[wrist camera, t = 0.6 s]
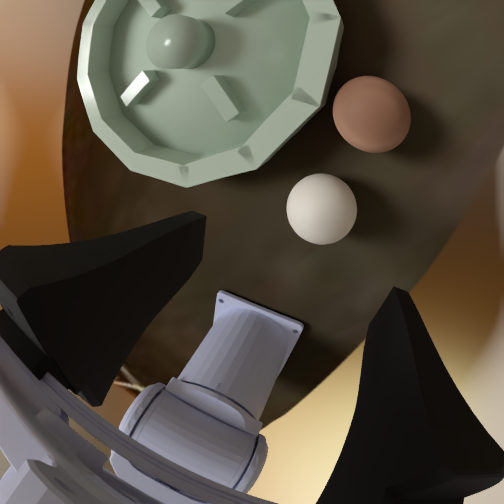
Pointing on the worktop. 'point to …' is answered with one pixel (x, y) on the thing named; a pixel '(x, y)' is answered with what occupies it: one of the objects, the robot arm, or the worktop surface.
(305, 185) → the ivory bead
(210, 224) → the worktop surface
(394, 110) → the terracotta bead
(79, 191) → the worktop surface
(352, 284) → the worktop surface
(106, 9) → the tray
